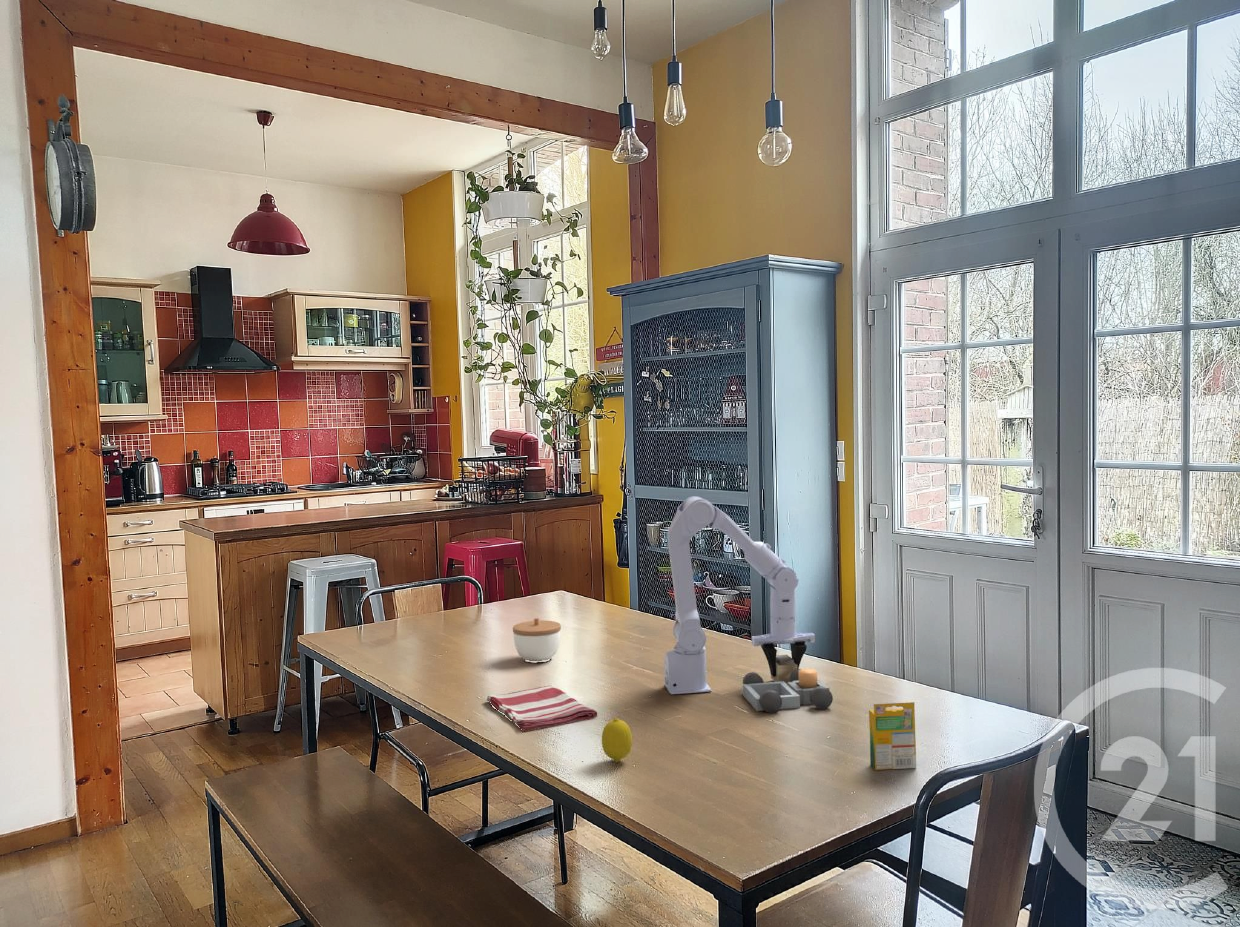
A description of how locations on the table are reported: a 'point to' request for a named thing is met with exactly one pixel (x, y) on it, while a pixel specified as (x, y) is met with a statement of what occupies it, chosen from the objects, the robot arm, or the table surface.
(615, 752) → the lemon
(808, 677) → the orange rounded peg
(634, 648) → the table surface
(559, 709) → the dish towel
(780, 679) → the two-tone stepped block
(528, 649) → the lidded bowl
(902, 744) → the crayon box
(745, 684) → the frame
